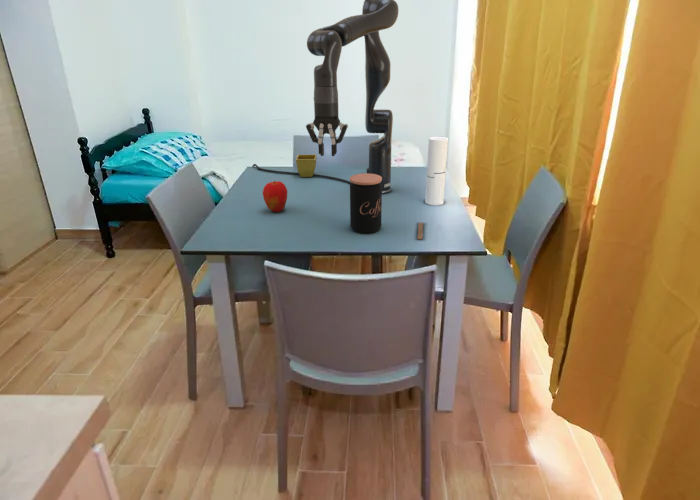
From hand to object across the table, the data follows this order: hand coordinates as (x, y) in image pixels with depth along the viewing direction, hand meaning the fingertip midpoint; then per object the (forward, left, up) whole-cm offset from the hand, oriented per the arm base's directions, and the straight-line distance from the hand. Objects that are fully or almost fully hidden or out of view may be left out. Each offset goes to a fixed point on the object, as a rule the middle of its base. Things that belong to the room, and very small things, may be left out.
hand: (327, 155), depth 159 cm
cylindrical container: (+17, +44, -25) cm, 54 cm away
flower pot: (-49, +43, -25) cm, 70 cm away
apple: (-27, +1, -25) cm, 37 cm away
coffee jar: (+11, +6, -25) cm, 28 cm away
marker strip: (+27, +15, -25) cm, 40 cm away
